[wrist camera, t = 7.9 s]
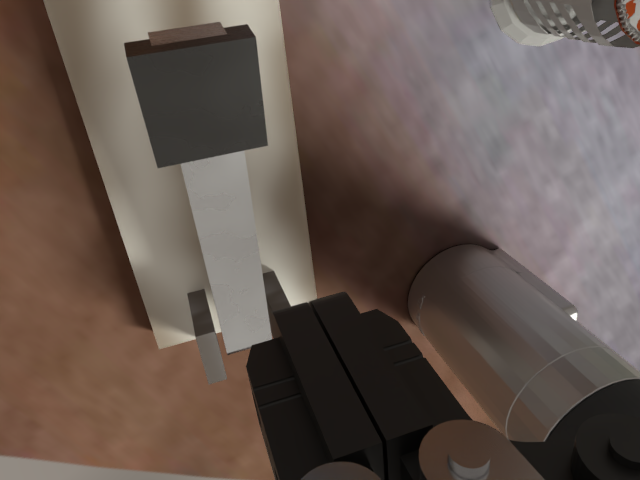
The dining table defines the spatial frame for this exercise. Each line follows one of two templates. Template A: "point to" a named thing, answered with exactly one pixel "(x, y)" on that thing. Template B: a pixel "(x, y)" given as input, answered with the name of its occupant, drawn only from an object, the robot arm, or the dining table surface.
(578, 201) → the dining table surface
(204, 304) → the press base
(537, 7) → the french press
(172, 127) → the lever
